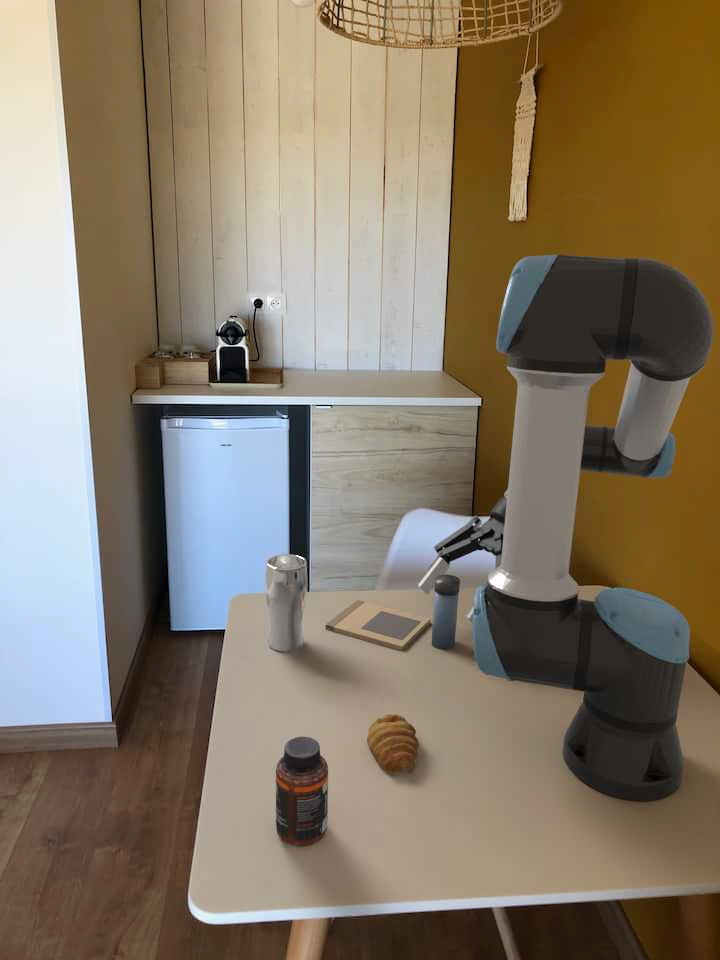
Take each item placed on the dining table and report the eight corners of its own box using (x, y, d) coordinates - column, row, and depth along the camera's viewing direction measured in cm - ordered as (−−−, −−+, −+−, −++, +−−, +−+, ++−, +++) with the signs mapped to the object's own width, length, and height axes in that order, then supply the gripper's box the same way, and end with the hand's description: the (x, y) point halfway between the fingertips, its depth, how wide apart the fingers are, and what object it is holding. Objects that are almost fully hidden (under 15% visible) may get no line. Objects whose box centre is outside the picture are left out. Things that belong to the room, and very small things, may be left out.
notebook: (401, 650, 130) (402, 646, 130) (325, 628, 137) (325, 624, 137) (430, 622, 141) (430, 618, 140) (357, 603, 147) (357, 599, 147)
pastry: (426, 777, 100) (428, 751, 99) (375, 781, 99) (376, 756, 98) (411, 733, 109) (412, 709, 108) (363, 737, 108) (364, 713, 107)
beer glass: (268, 655, 128) (268, 571, 123) (263, 635, 134) (262, 554, 130) (310, 651, 129) (311, 568, 125) (303, 632, 136) (303, 552, 132)
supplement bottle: (338, 831, 90) (340, 747, 86) (299, 857, 86) (300, 770, 82) (303, 805, 94) (304, 724, 90) (265, 829, 90) (264, 745, 86)
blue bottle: (449, 652, 131) (454, 586, 127) (427, 645, 132) (431, 581, 129) (459, 641, 134) (463, 577, 131) (436, 635, 136) (440, 572, 133)
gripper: (582, 544, 127) (505, 647, 124) (484, 501, 148) (415, 588, 144) (562, 518, 123) (482, 624, 120) (464, 478, 143) (393, 567, 140)
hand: (446, 605), depth 132 cm, fingers open, 13 cm apart
